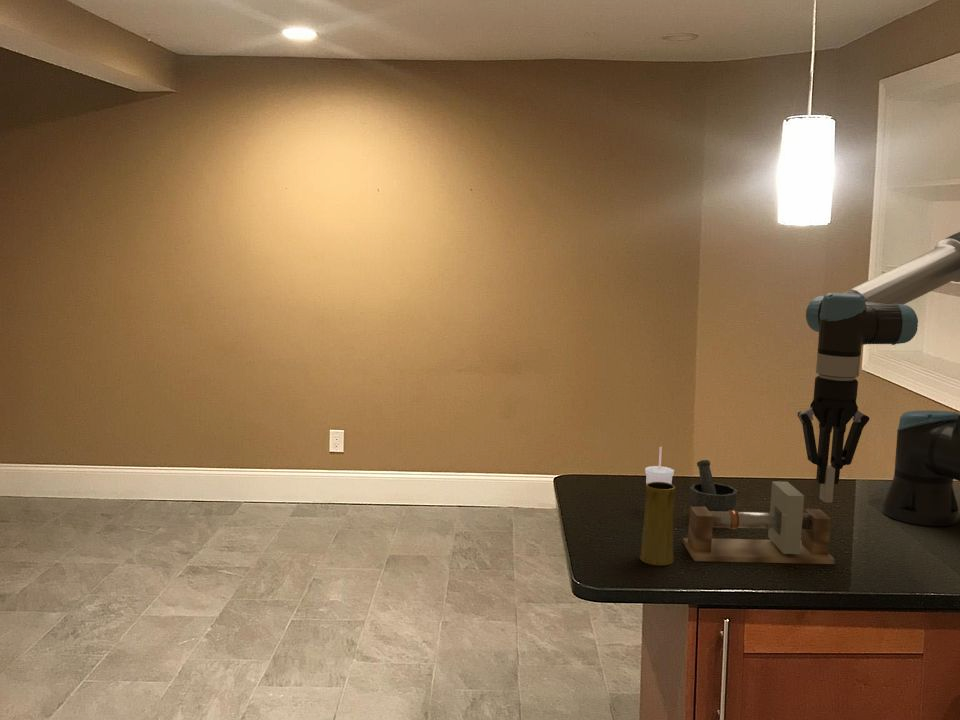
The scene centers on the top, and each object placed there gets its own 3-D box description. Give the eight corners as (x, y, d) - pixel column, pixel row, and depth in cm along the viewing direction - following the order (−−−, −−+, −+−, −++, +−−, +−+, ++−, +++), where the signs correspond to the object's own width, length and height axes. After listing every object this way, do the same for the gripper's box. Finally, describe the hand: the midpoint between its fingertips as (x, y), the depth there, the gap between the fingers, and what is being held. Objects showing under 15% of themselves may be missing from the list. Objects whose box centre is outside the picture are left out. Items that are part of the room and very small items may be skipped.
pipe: (815, 527, 188) (817, 509, 187) (822, 533, 184) (823, 515, 184) (695, 524, 187) (696, 507, 187) (699, 530, 184) (701, 512, 183)
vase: (666, 568, 177) (670, 492, 175) (634, 561, 180) (638, 486, 178) (678, 559, 182) (682, 484, 180) (647, 552, 185) (651, 479, 183)
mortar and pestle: (743, 526, 202) (747, 470, 200) (702, 529, 200) (706, 472, 198) (717, 510, 213) (720, 456, 211) (677, 512, 210) (680, 458, 209)
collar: (783, 536, 191) (787, 481, 189) (799, 554, 182) (804, 496, 180) (767, 536, 191) (772, 481, 189) (783, 553, 182) (788, 495, 180)
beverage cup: (677, 511, 211) (681, 448, 209) (657, 516, 208) (660, 451, 206) (657, 504, 216) (660, 442, 214) (637, 508, 213) (640, 445, 211)
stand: (815, 545, 192) (818, 506, 190) (834, 564, 182) (837, 522, 180) (682, 542, 191) (685, 503, 190) (694, 561, 181) (696, 519, 180)
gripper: (863, 374, 185) (852, 495, 189) (795, 372, 185) (785, 493, 189) (880, 381, 178) (868, 507, 181) (808, 379, 178) (797, 505, 181)
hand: (825, 500), depth 185 cm, fingers closed
